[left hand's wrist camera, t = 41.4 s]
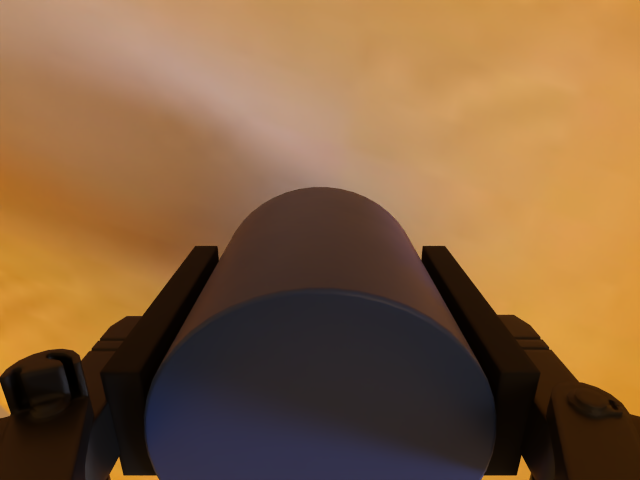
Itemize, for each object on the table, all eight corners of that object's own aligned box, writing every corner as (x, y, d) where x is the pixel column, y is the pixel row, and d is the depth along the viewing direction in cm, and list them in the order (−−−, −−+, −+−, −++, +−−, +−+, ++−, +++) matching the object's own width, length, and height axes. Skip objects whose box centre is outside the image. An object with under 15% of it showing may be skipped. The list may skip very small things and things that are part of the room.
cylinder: (344, 388, 17) (361, 598, 10) (189, 304, 15) (85, 482, 8) (457, 256, 15) (575, 408, 8) (289, 145, 13) (257, 212, 6)
